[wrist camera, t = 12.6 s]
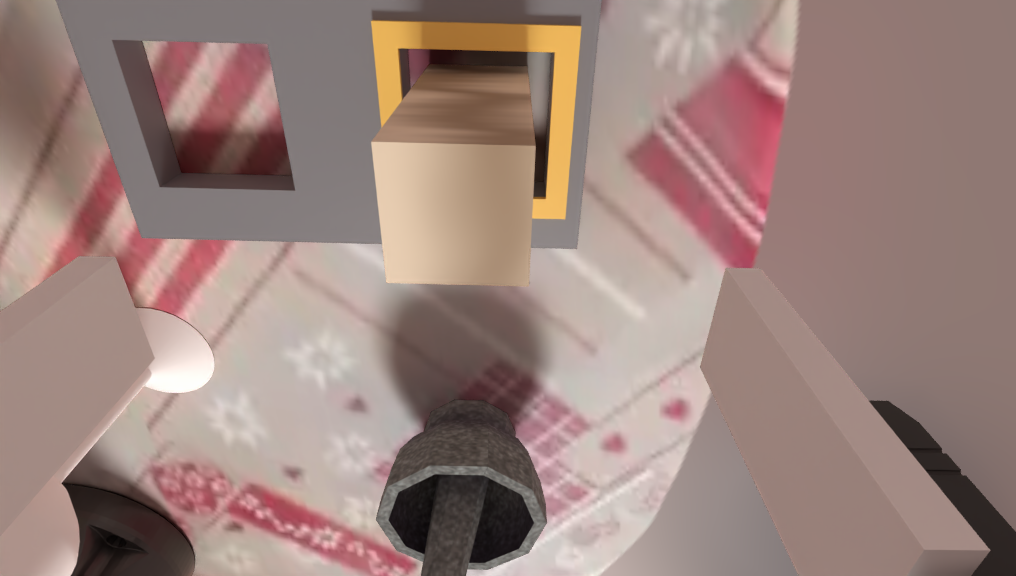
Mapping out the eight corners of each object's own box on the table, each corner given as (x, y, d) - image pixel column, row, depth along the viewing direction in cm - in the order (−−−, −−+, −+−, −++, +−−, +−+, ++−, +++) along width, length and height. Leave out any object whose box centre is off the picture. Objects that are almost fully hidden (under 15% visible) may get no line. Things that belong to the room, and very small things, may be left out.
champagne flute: (83, 307, 33) (-646, 911, 12) (196, 307, 32) (-348, 916, 12) (125, 393, 36) (-384, 974, 16) (227, 393, 36) (-151, 977, 16)
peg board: (163, 221, 30) (138, 240, 28) (76, -39, 23) (36, -38, 21) (573, 231, 30) (577, 251, 28) (597, -26, 23) (604, -23, 21)
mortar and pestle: (420, 361, 34) (380, 535, 24) (560, 398, 36) (578, 577, 26) (382, 475, 40) (337, 656, 30) (504, 504, 42) (501, 685, 31)
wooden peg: (434, 159, 28) (386, 282, 17) (429, 63, 25) (371, 141, 15) (523, 161, 28) (528, 286, 17) (527, 66, 25) (535, 146, 15)
